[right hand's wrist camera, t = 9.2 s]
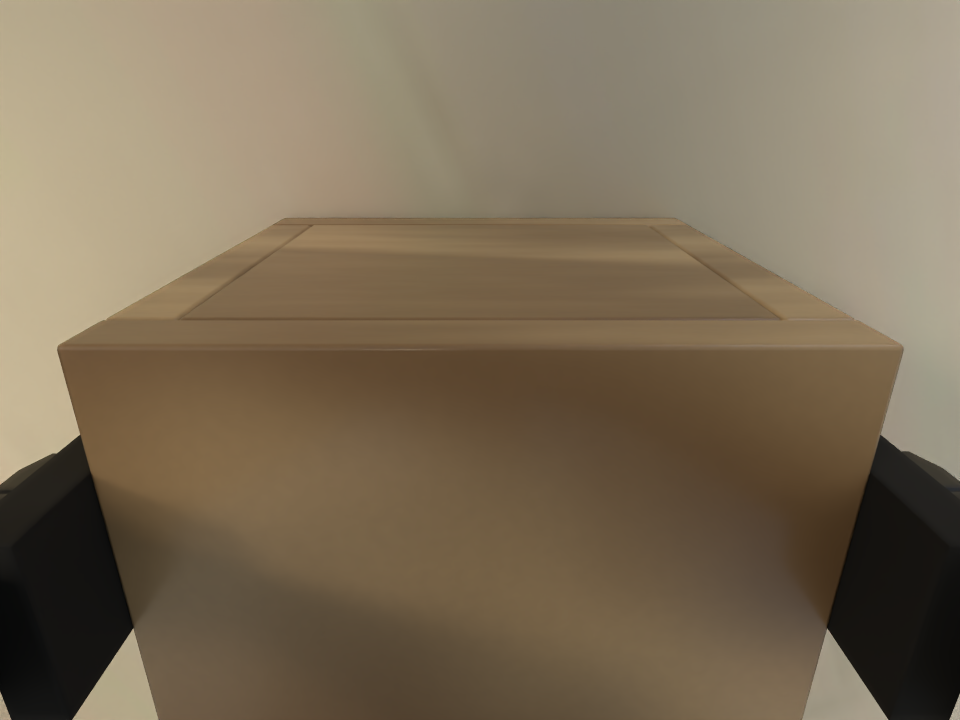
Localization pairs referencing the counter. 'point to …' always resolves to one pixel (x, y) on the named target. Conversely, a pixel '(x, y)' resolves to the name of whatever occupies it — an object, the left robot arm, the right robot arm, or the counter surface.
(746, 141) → the counter surface
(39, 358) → the counter surface
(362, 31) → the counter surface
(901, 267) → the counter surface
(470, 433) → the cabinet
